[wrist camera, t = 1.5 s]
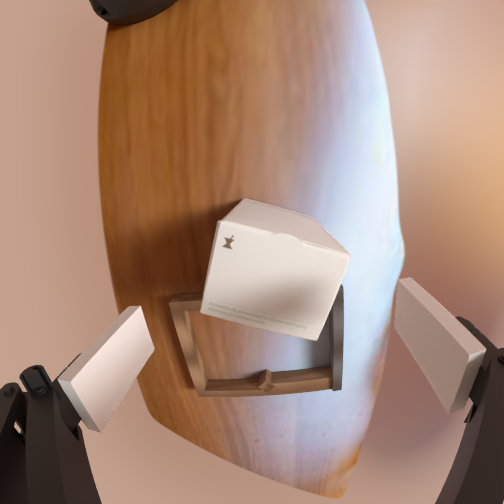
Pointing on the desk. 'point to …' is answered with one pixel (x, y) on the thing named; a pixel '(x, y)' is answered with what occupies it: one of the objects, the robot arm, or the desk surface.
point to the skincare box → (273, 270)
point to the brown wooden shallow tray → (267, 380)
